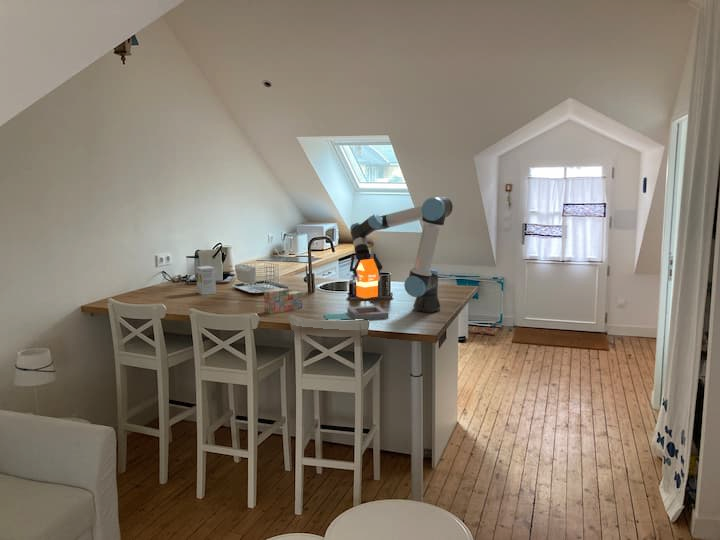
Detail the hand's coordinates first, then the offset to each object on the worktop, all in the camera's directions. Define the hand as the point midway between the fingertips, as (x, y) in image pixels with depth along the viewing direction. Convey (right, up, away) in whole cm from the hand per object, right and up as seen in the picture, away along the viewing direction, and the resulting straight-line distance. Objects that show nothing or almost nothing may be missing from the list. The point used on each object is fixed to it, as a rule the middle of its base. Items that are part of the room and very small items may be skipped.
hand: (368, 280), depth 315 cm
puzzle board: (-1, -19, +6) cm, 20 cm away
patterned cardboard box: (-48, -17, +19) cm, 54 cm away
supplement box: (-103, -9, +66) cm, 123 cm away
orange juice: (-1, -9, +4) cm, 10 cm away
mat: (-17, -20, +2) cm, 26 cm away
